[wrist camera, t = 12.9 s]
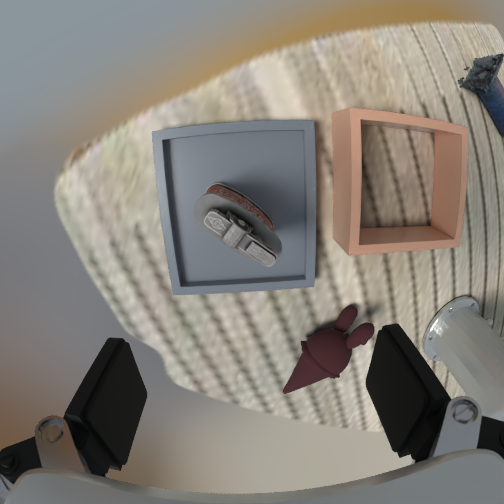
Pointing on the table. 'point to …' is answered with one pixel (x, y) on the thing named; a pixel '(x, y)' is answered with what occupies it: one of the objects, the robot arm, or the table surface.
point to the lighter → (238, 223)
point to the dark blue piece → (488, 86)
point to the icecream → (328, 351)
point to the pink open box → (444, 193)
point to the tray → (249, 183)
